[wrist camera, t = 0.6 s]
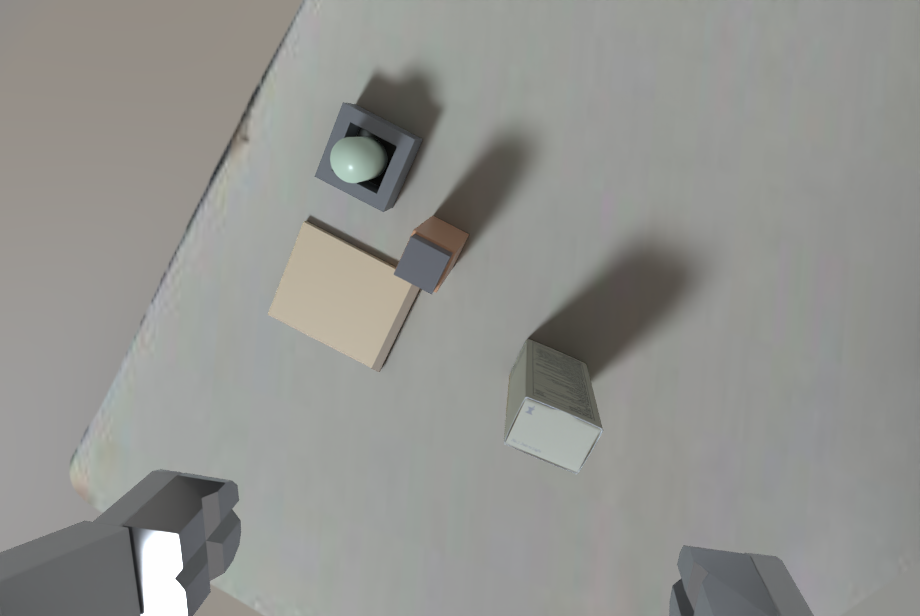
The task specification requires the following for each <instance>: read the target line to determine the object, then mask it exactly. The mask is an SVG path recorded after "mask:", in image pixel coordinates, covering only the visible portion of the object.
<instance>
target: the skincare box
mask: <svg viewBox="0 0 920 616" xmlns="http://www.w3.org/2000/svg"><path fill="white" fill-rule="evenodd" d="M602 432H603V428H602V425H601V421H600V417H599V413H598V409H597V404H596V400H595V396H594V392H593V388H592V384H591V380H590V376H589V372H588V368H587V365H586V364H585V363H583V362H581V361H579V360H577V359H575V358H572V357H570V356H568V355H566V354H563V353H561V352H559V351H556V350H554V349H552V348H550V347H547V346H545V345H543V344H540V343H538V342H535V341H533V340H530V339H527V340H526V342H525V344H524V346H523V348H522V350H521V352H520V354H519V356H518V358H517V360H516V362H515V364H514V366H513V368H512V371H511V373H510V375H509V385H508V397H507V408H506V420H505V433H504V443H505V444H506V445H508V446H510V447H513V448H515V449H517V450H519V451H522V452H524V453H526V454H528V455H531V456H533V457H535V458H538V459H540V460H543V461H545V462H548V463H550V464H552V465H555V466H557V467H560V468H562V469H565V470H567V471H570V472H573V473H575V474H578V473H579V471H580V470H581V468H582V466H583V465H584V463H585V461H586V460H587V458H588V456H589V455H590V453H591V451H592V450H593V448H594V446H595V445H596V443H597V441H598V439H599V437H600V436H601V434H602Z"/></svg>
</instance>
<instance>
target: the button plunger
mask: <svg viewBox="0 0 920 616" xmlns="http://www.w3.org/2000/svg"><path fill="white" fill-rule="evenodd" d="M330 162H331V166H332V169H333V171H334V173H335V174H336V175H337V176H338V177H339V178H340V179H341V180H343V181H345V182H348V183H358V182H362V181H365V180H369V179H373V178H376V177H378V176H379V175H381V174H382V173H383V171H384V170H385V168H386V165H387V153H386V150H385V148H384V146H383V145H382V144H381V143H380V142H379V141H378V140H377V139H375V138H372V137H346V138H343V139H341V140H339V141H338V142H337V143H336V144H335V145H334V146H333V148H332V151H331V155H330Z"/></svg>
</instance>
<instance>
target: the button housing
mask: <svg viewBox="0 0 920 616" xmlns="http://www.w3.org/2000/svg"><path fill="white" fill-rule="evenodd" d="M360 127H361V128H363V129H365V130H367V131H368V132H370V133H372V134H374V135H376V136H378V137H380V138H382V139H384V140H386V141H388V142H390V143H392V144H394V145H395V146H397V148H396V150H395V152H394V155H393V157H392V159H391V162H390V164H389V166H388V169H387V171H386V173H385V176H384V178H383V180H382V183H381V185H380V187H379V186H377V185H375V184H373V183H371V182H370V181H368V180H365V181H362V182H358V183H348V182H345V181H343V180H341V179H340V178H339V177H338V176H337V175H336V174H335V173H334V171H333V169H332V166H331V162H330V155H331V151H332V148H333V146H334V145H335V144H336V143H337V142H338V141H339V140H341V139H343V138H346V137H356V136H357V134H358V131H359V129H360ZM422 140H423V139H421V138H419V137H417V136H415V135H414V134H412V133H410V132H408V131H406V130H404V129H402V128H400V127H398V126H396V125H394V124H392V123H390V122H388V121H387V120H385V119H383V118H381V117H379V116H377V115H375V114H373V113H371V112H369V111H367V110H365V109H363V108H362V107H360V106H358V105H356V104H350V103H343V104H342V107H341V109H340V112H339V114H338V117H337V120H336V122H335V125H334V127H333V130H332V133H331V135H330V138H329V141H328V143H327V146H326V148H325V151H324V154H323V156H322V159H321V161H320V164H319V167H318V169H317V172H316V175H315V177H317V178H319V179H321V180H323V181H325V182H326V183H328V184H330V185H332V186H334V187H336V188H338V189H340V190H342V191H344V192H346V193H348V194H350V195H352V196H353V197H355V198H357V199H359V200H361V201H363V202H365V203H367V204H369V205H371V206H373V207H375V208H377V209H379V210H381V211H382V212H384V211H386V210H388V209H390V208H393V206H394V203H395V201H396V199H397V197H398V194H399V192H400V190H401V188H402V185H403V183H404V181H405V178H406V176H407V174H408V172H409V169H410V167H411V165H412V163H413V160H414V158H415V156H416V154H417V151H418V149H419V147H420V145H421V142H422Z"/></svg>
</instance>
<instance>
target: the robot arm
mask: <svg viewBox="0 0 920 616" xmlns="http://www.w3.org/2000/svg"><path fill="white" fill-rule="evenodd" d="M238 501H239V496H238V487H237V484H235V483H234V482H233V481H231V480H225V479H219V478H213V477H207V476H201V475H195V474H189V473H181V472H176V471H169V470H163V469H160V470H155V471H152V472H151V473H150V474H149V475H147V476H146V477H145V478H144V479H143V480H142V481H140V482H139V483H138V484H137V485H136V486H134V487H133V488H132V489H131V490H130V491H129V492H127V493H126V494H125V495H124V496H123V497H122V498H120V499H119V500H118V501H117V502H116V503H114V504H113V505H112V506H111V507H110V508H109V509H107V510H106V511H105V512H104V513H103V514H102V515H100V516H99V517H98V518H97V519H96V520H94V521H93V522H90V521H83V522H80V523H77V524H75V525H72V526H69V527H67V528H64V529H62V530H59V531H56V532H54V533H51V534H48V535H46V536H43V537H40V538H38V539H35V540H32V541H30V542H27V543H25V544H22V545H19V546H16V547H14V548H11V549H9V550H6V551H3V552H1V553H0V616H193V615H194V614H195V612H196V611H197V610H198V608H199V607H200V606H201V604H202V603H203V602H204V600H205V599H206V598H207V596H208V595H209V593H210V581H211V580H212V579H214V578H216V577H218V576H220V575H222V574H223V573H225V571H226V570H227V569H228V567H229V566H230V564H231V563H232V561H233V559H234V557H235V554H236V552H237V549H238V547H239V543H240V536H241V521H240V519H239V518H238V516H237V515H236V514H235V512H234V511H233V510H232V508H233V507H234V506H235V505H236V503H237V502H238ZM677 565H678V569H679V572H680V575H681V579H680V580H679V581H678V582H676V583H675V584H674V585H673V586H672V591H671V597H670V609H669V616H814V615H813V614H812V612H811V610H810V608H809V607H808V605H807V603H806V601H805V600H804V598H803V596H802V595H801V593H800V591H799V589H798V588H797V586H796V584H795V582H794V581H793V579H792V577H791V576H790V574H789V572H788V570H787V569H786V567H785V565H784V563H783V562H782V560H780V559H779V558H778V557H776V556H769V555H761V554H752V553H744V554H743V553H736V552H729V551H722V550H714V549H707V548H700V547H693V546H685V545H684V546H683V547H682V549H681V551H680V554H679V559H678V563H677Z"/></svg>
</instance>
